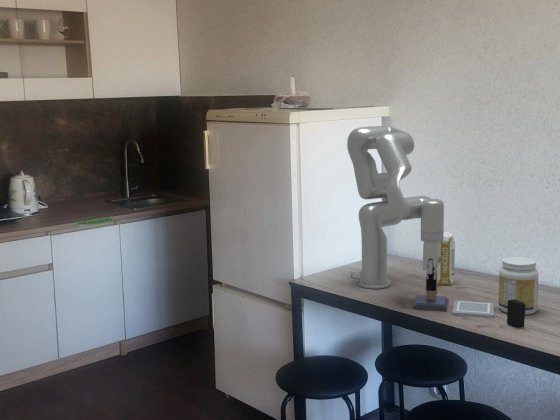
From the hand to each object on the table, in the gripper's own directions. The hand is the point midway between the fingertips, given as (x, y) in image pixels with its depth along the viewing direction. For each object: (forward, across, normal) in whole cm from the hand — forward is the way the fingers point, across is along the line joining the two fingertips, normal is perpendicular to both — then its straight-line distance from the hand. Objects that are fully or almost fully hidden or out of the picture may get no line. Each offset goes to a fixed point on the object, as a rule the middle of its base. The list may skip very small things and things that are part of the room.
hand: (431, 288), depth 229 cm
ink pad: (+6, 0, 0) cm, 6 cm away
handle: (+4, 0, 0) cm, 4 cm away
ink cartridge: (+7, +15, +27) cm, 31 cm away
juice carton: (+6, -29, +2) cm, 30 cm away
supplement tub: (+6, -1, +28) cm, 29 cm away
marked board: (+6, +2, +14) cm, 15 cm away
